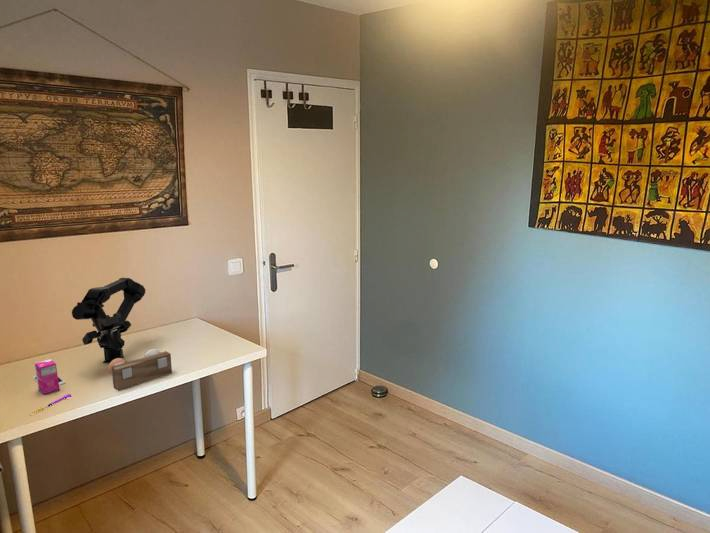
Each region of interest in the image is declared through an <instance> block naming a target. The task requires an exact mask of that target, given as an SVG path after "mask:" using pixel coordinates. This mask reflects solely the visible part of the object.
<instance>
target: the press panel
mask: <svg viewBox="0 0 710 533" xmlns="http://www.w3.org/2000/svg"><path fill="white" fill-rule="evenodd" d="M160 352H161V351H160ZM162 357H166V358H167V366H166V367H163V368H160V369H158V368H157V361H156V359H159V358H162ZM128 367H131V368H132V377H129V378H125V379H122V374H121V370H122V369H125V368H128ZM171 374H173V369H172V355H171V352H168V351H166V350H165V351H162V352H161V353H157V354H154V355H150V356H147V357H144V356H143V357H141V358H137V359H134V360H129V361H126V363H123V364H119V365H116V366H112V374H111V375H112V376H111V377H112V386H113V388H114V389H115V390H116V391H117V390H118V391H122V390H125V389H127V388H132V387H134V386H138V385H141V384H143V383H147V382H149V381H152V380H156V379H159V378H162V377H165V376H168V375H171ZM131 386H132V387H131ZM118 391H117V392H118Z"/></svg>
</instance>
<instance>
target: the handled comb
mask: <svg viewBox="0 0 710 533" xmlns="http://www.w3.org/2000/svg"><path fill="white" fill-rule="evenodd" d="M70 396H71V397H72V394H71V393H68V394H65V395H64V396H62V397H60V398H58V399H56V400H54V401H52V402H50V403H49V404H47V406H48V407H51V406H53V405H52V404H54V403H56V402H58V401H60V400H62V399H64V398H67V397H70ZM64 400H65V399H64ZM62 401H63V400H62ZM60 402H61V401H60ZM58 403H59V402H58ZM56 404H57V403H56ZM50 405H51V406H50ZM54 405H55V404H54ZM43 408H44V407H40V408H38V409H36V410H34V411H32V412H31V413H35V412H37V411H39V410H41V409H43ZM43 410H44V409H43Z"/></svg>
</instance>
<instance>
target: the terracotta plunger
mask: <svg viewBox="0 0 710 533" xmlns="http://www.w3.org/2000/svg"><path fill="white" fill-rule="evenodd" d="M126 362H127V360H125V359H124V358H123V359H122V358H116V359H114V360H112V361H111V362H110V363H108V364H109V365H108V366H107V367H108V368H107V370H108V372H109V374H110V375H112V366H116V365H119V364H123V363H126ZM121 374H122V379H125V378H129V377H132V368H131V367H128V368H125V369H122V370H121Z"/></svg>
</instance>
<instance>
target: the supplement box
mask: <svg viewBox="0 0 710 533" xmlns="http://www.w3.org/2000/svg"><path fill="white" fill-rule="evenodd" d="M34 369H35V376H37V381H36V382H37V389H38V391H39V392H40V393H41V394H42V396H45V395H49V394H52V392H53V393H55V392H59V391H60V390H61V389H60V385H59V381H58V377H59V375H58V370H57V363H56V362H55V361H54V360H52V359H51V358H48V359H46V360H42V361H37V362H34Z"/></svg>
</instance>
